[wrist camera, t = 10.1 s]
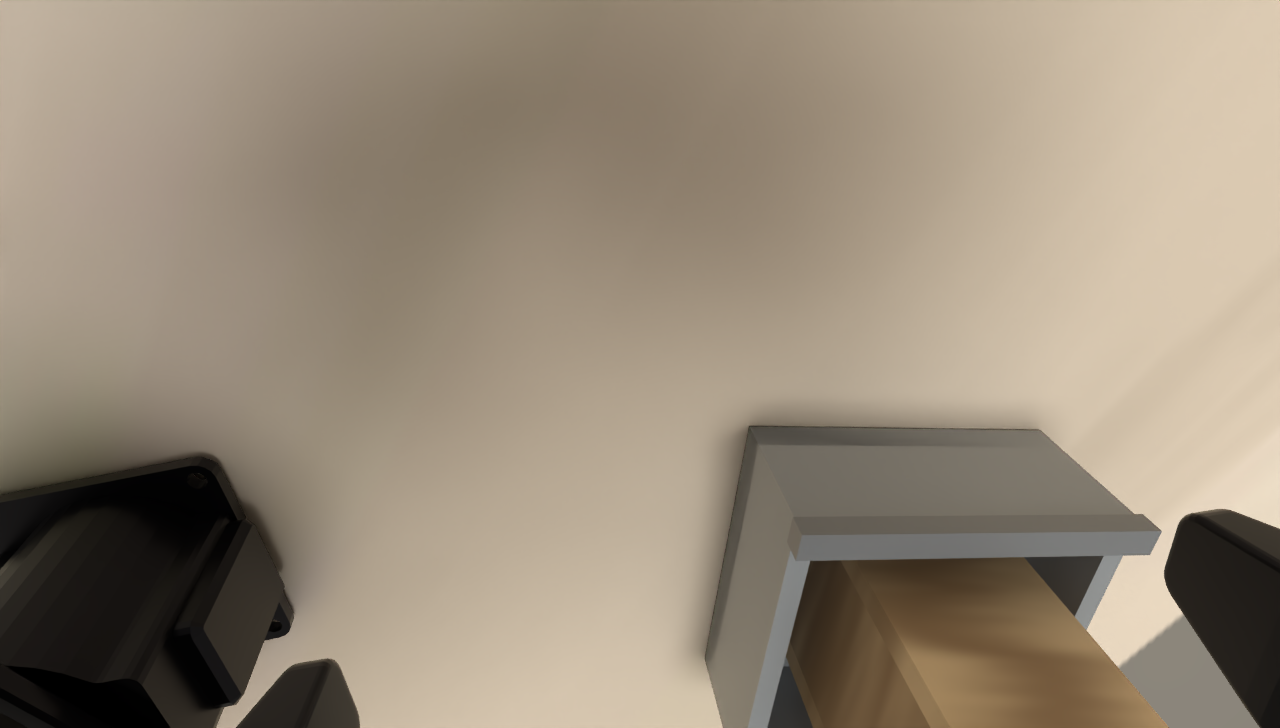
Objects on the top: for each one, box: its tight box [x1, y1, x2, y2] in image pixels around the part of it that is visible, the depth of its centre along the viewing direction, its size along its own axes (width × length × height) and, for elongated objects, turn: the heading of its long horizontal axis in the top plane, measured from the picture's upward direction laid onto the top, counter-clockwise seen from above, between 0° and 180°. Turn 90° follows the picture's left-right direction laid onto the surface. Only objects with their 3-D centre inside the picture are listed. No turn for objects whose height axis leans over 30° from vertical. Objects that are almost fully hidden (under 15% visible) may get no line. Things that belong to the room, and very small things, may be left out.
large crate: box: [705, 426, 1162, 728], centre depth 24 cm, size 10×10×5 cm
